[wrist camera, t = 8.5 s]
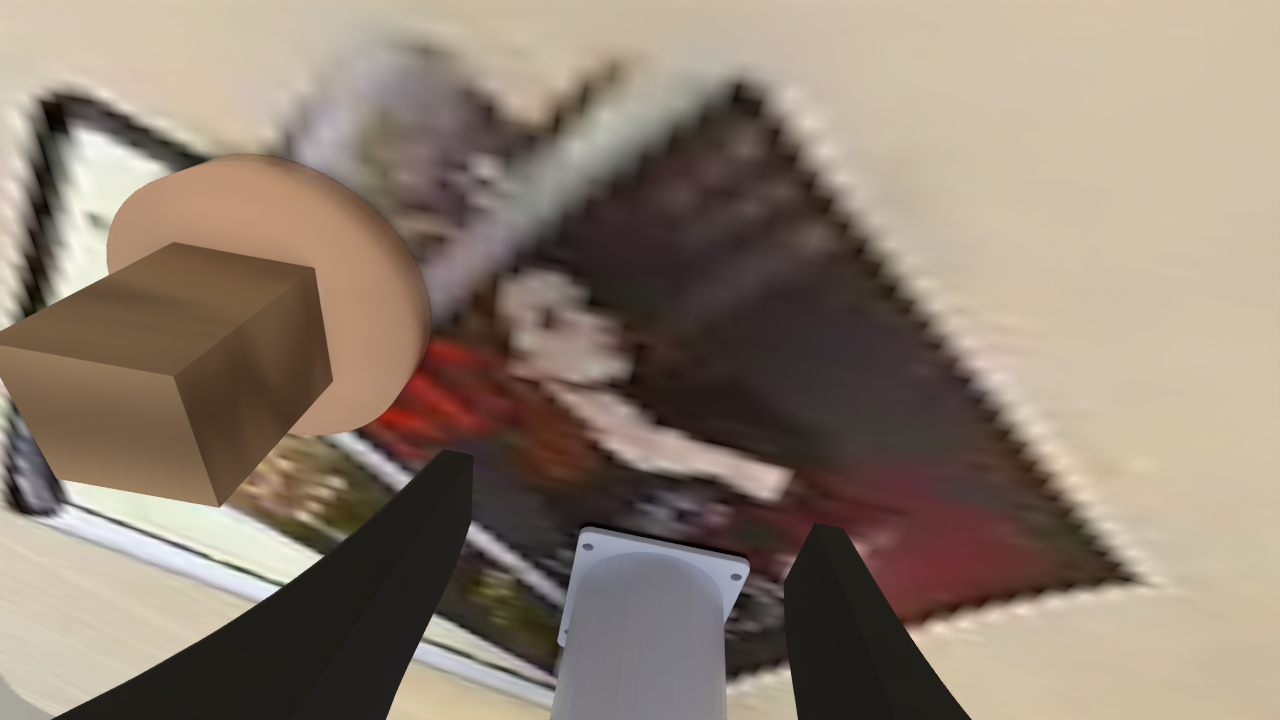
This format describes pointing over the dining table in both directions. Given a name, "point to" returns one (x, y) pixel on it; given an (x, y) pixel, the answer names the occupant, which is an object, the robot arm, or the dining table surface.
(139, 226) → the tan round disc
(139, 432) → the walnut block
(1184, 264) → the dining table surface
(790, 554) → the dining table surface
